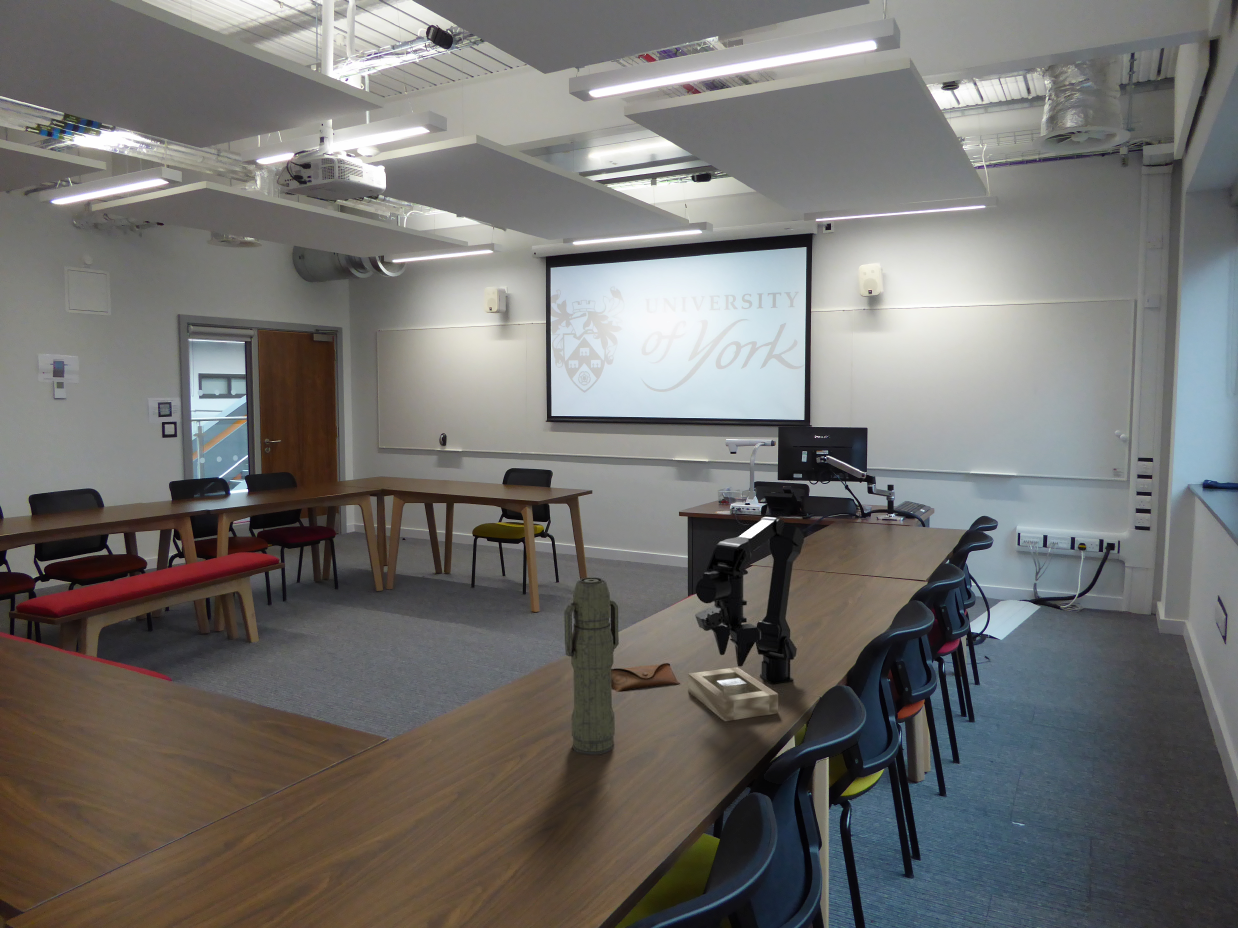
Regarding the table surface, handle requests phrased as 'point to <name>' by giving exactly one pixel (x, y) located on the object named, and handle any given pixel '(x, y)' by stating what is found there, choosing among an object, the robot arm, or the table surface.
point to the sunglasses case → (642, 677)
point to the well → (733, 706)
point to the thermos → (592, 664)
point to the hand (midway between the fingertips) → (730, 660)
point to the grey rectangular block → (732, 686)
